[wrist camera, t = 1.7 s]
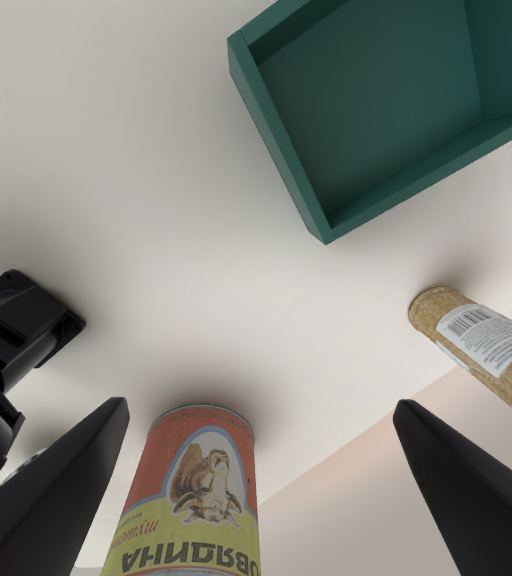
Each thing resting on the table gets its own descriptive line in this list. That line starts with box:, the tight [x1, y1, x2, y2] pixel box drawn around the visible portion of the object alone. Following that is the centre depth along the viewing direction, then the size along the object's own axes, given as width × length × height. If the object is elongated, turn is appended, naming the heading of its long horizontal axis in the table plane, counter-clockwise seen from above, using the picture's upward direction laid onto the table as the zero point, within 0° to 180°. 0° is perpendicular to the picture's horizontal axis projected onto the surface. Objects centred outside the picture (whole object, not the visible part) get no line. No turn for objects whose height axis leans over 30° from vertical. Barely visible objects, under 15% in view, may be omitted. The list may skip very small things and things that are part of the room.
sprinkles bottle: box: [409, 286, 512, 408], centre depth 16 cm, size 5×5×13 cm
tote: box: [227, 0, 512, 245], centre depth 14 cm, size 13×11×4 cm
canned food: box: [100, 405, 261, 576], centre depth 22 cm, size 11×11×12 cm
